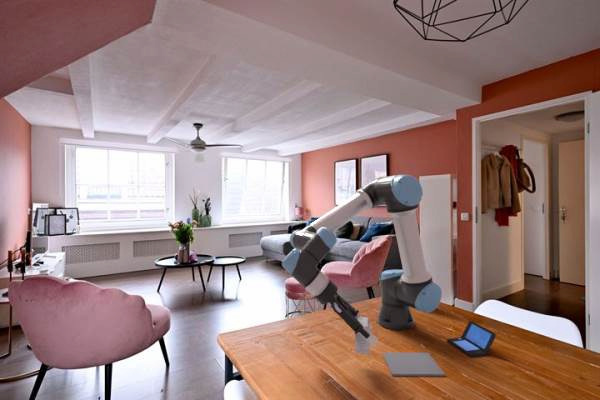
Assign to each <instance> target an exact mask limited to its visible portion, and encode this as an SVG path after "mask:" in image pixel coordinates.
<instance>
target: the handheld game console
mask: <svg viewBox="0 0 600 400" xmlns="http://www.w3.org/2000/svg"><path fill="white" fill-rule="evenodd" d="M496 336H497V335H496V333H495V332H493V331H491V330H489V329H487V328H486V327H484V326H482V325H480V324H478V323H476V322H474V321H472V320H469V321H468V322H467V324H466V327H465V328H464V330H463V332H462V335H461V336H459V337H452V338H447V339H446V341H447V343H448V344H450V345H451V346H452V347H454V348H455V349H456V350H458V351H460V352H461V353H462V354H464V355H466V356H467V357H469V358H476V357H477V358H478V357H479V358H480V357H486V356H489V351H490V349H491V347H492V345H493V343H494V341H495V339H496V338H497V337H496Z"/></svg>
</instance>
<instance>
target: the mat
mask: <svg viewBox="0 0 600 400" xmlns="http://www.w3.org/2000/svg"><path fill="white" fill-rule="evenodd" d="M382 356H383V358H384V361H385V363H386V365H387V367H388V370H389V372H390V374H391V376H392V377H445V376H446V374H445V372H444V371H443V370H442V369H441V367H440V366H439V365H438V363H437V362H436V361H435V359H434V358H433V356H432V355H431V354H430V353H429V352H382Z"/></svg>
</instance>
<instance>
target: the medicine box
mask: <svg viewBox="0 0 600 400" xmlns="http://www.w3.org/2000/svg"><path fill="white" fill-rule="evenodd" d="M356 319H357V320H358V321H359V322H360V324H361V325H364V326H365V327H366V328H367V329H368V330H369V324H370V323H369V317H366V316H361V317H356ZM354 344H355V353H356V354H363V355H370V353H371V350H370V348H371V345H370V344H369V343H368V342H367V341H366V340H365V339H364V338H363V337H362V336H361V335H360V334H359V333H357V334H355V333H354Z"/></svg>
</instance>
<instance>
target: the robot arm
mask: <svg viewBox="0 0 600 400" xmlns="http://www.w3.org/2000/svg"><path fill="white" fill-rule="evenodd" d="M422 197H423V188H422V185H421V182H420V181H419V180H418V178H416V177H414V176H413V175H411V174H395V175H388V176H379V177H377V178H375V179H373V180H371V181H370V182H368V183H367V184H365V185H363V186H361V187H360V188H359V189H357V190H356V191H355V192H354V195H353V196H351V197H350V198H347V200H345V201H343V202H342V203H340V204H339V205H337V206H336V207H333V209H331V210H330V211H328V212H327V213H326V214H324V215H322V216H321V217H319V218H318V219H316V220H315V221H313V222H311V223H310V224H309V225H306V226H305V227H304V228H302V229H296V230H294V231H293V232H291V235H290V236H289V243H290V245H291V246H292V247H293V249H292V250H291V251H290V252H289V253H288V254H287V255H285V257H284V258H283V260H282V261H281V266H282V267H283V269H284V270H286V272H287V273H288V274H289V275H290V276H291V277H292V278H293V279H294V280H295V281H297V282H298V283H299V284H300V285H301V286H302V287H303V288H304V289H305V292H306V293H308V292H309V293H310V295H312V296H314V298H315V300H317V302H318V303H320V305H322V306H323V305H324V306H325V305H327V304H330V307H331V308H332V310H333V312H334V313H336V314H337V315H338V316H339V318H341V319H342V320H343V321H344V322H345V323H346V325H348V326H349V328H350V329H352V330H353V331H354V335H355V334H357V333H359V334H360V335H361V336H362V337H363V338H364V339H365V340H366V341H367V342H368V343H369V345H370V347H372V348H373V347H374V346H375V345H376V344H377V343H378V342H379V339H378V338H377V337H376V336H375V334H373V333H372V332H371V330H372V329H373V328H374V327H373V325H371V324H370V323H369V330H368V329H367V328H366V327H365V326H364V325H361V324H360V322H359V321H358V320H357V319H356V317H362V316H361V315H360V314H359V313H360V311H359V309H355V307H354V306H352V305H351V304H350V303H349V302H348V301H347V300H345V299H344V297H342V296H341V295H340V294H339V293H338V286H337V285H336V284H335V283H334V282H333V281H332V280H329V277H328V276H327V275H326V274H325V273H323V271H321V270H320V269H319V268H318V265H319V264H320V262H322V260H323V259H324V258H325V257H326V256H327V254H328V253H330V251H331V250H333V247H334V246H335V245H336V243H337V242H338V240H337V236H336V235H335V233H334V232H336V231H337V230H339V229H341V228H342V227H343V226H345V225H346V224H347V223H349V222H351V221H352V220H353V219H355V218H356V217H358V216H359V215H360V214H362V213H363V212H365V211H370V210H372V209H374V208H375V207H379V206H385V207H386V212H387V213H388V214H389V215H390V216H391V217H392V222H393V227H394V231H395V235H396V236H395V237H396V241H397V245H398V252H399V256H400V262H401V265H402V266H401V268H402V269H386V270H383V271H382V273H381V274H380V276H381V277H380V288H381V289H380V293H381V298H380V299H381V304H380V309H379V311H378V314H377V323H378V324H379V325H380V326H382V327H384V328H386V329H390V330H394V331H405V330H406V331H407V330H411V329H413V328H414V326H415V323H414V322H415V320H414V317H413V313H412V311H411V308H412V309H415V310H416V311H418V312H423V313H432V312H434V311H436V309H437V308H438V306H439V305H440V303H441V301H442V296H443V292H442V289H441V286H440V285H438V284H437V283H435V282H434V281H433V276H432V273H431V272H429V271H428V270H427V265H426V261H425V257H424V256H425V255H424V252H423V251H424V249H423V246H422V241H421V235H420V231H419V225H418V221H417V216H416V215H417V214H416V212H417V211H418V209H419V203H420V202H421V201H422ZM425 265H426V266H425ZM410 307H411V308H410Z"/></svg>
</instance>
